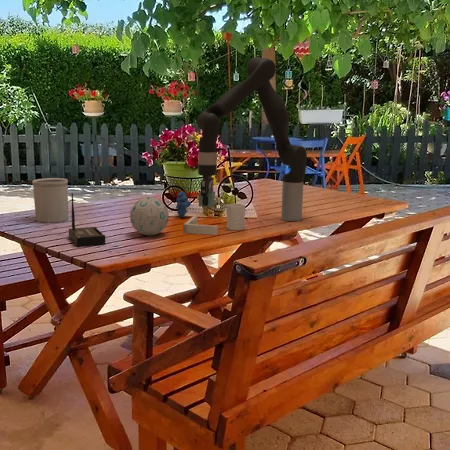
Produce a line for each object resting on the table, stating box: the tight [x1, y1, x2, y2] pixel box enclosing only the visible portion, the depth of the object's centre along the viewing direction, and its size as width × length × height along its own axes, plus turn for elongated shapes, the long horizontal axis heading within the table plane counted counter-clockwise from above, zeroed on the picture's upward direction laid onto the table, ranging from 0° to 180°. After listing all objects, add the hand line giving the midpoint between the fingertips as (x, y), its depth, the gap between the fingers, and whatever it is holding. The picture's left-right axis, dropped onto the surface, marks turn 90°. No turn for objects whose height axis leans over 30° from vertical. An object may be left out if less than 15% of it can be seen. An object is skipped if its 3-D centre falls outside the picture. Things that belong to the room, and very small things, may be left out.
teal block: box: [198, 191, 216, 208], centre depth 252 cm, size 6×6×6 cm
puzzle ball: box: [129, 196, 170, 237], centre depth 244 cm, size 15×15×15 cm
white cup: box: [225, 203, 246, 231], centre depth 257 cm, size 8×8×10 cm
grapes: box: [175, 191, 192, 218], centre depth 279 cm, size 12×7×12 cm, turn 20°
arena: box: [182, 215, 219, 236], centre depth 256 cm, size 17×14×4 cm
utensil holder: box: [31, 177, 69, 224], centre depth 269 cm, size 15×15×18 cm
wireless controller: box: [68, 192, 106, 248], centre depth 235 cm, size 20×14×17 cm
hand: (206, 204), depth 253 cm, fingers closed on teal block, 5 cm apart
